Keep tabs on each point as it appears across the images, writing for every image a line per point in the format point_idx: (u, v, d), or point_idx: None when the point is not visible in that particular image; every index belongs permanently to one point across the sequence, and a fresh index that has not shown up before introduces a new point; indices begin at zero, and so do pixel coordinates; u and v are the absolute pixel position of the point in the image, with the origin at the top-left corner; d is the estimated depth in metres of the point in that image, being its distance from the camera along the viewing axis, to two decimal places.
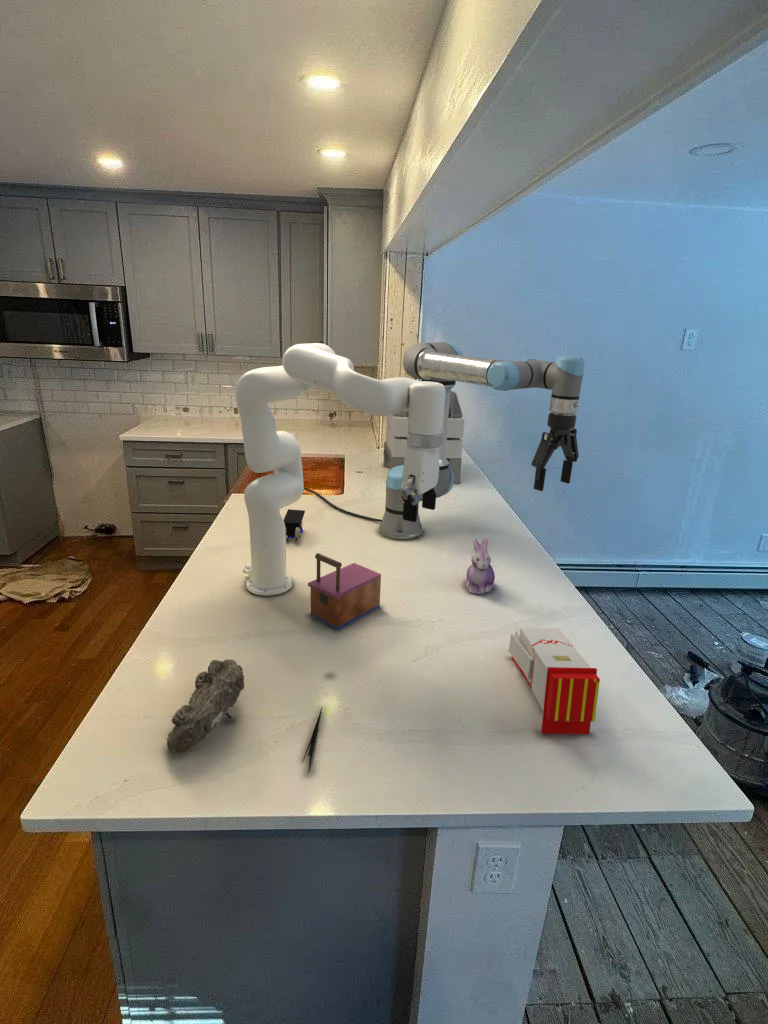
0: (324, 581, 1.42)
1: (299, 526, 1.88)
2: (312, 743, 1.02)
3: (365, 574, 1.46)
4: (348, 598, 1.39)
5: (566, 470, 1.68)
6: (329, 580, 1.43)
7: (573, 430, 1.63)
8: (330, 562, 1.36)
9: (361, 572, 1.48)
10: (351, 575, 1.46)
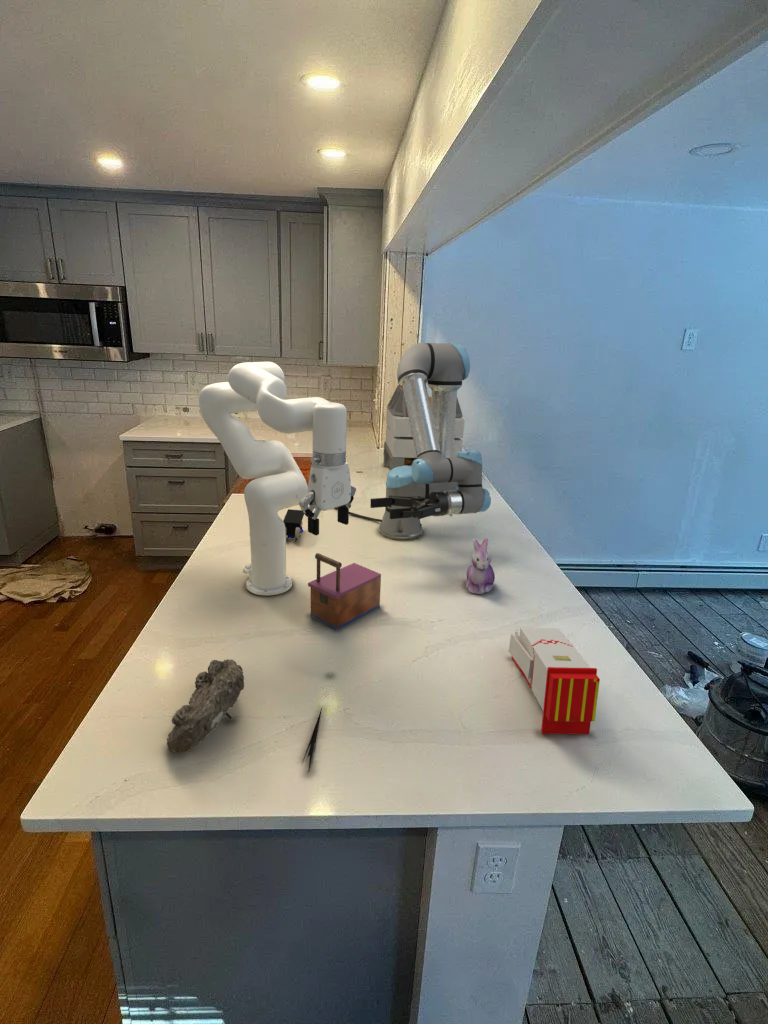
0: (324, 581, 1.42)
1: (299, 526, 1.88)
2: (312, 743, 1.02)
3: (365, 574, 1.46)
4: (348, 598, 1.39)
5: (382, 503, 1.72)
6: (329, 580, 1.43)
7: None
8: (330, 562, 1.36)
9: (361, 572, 1.48)
10: (351, 575, 1.46)
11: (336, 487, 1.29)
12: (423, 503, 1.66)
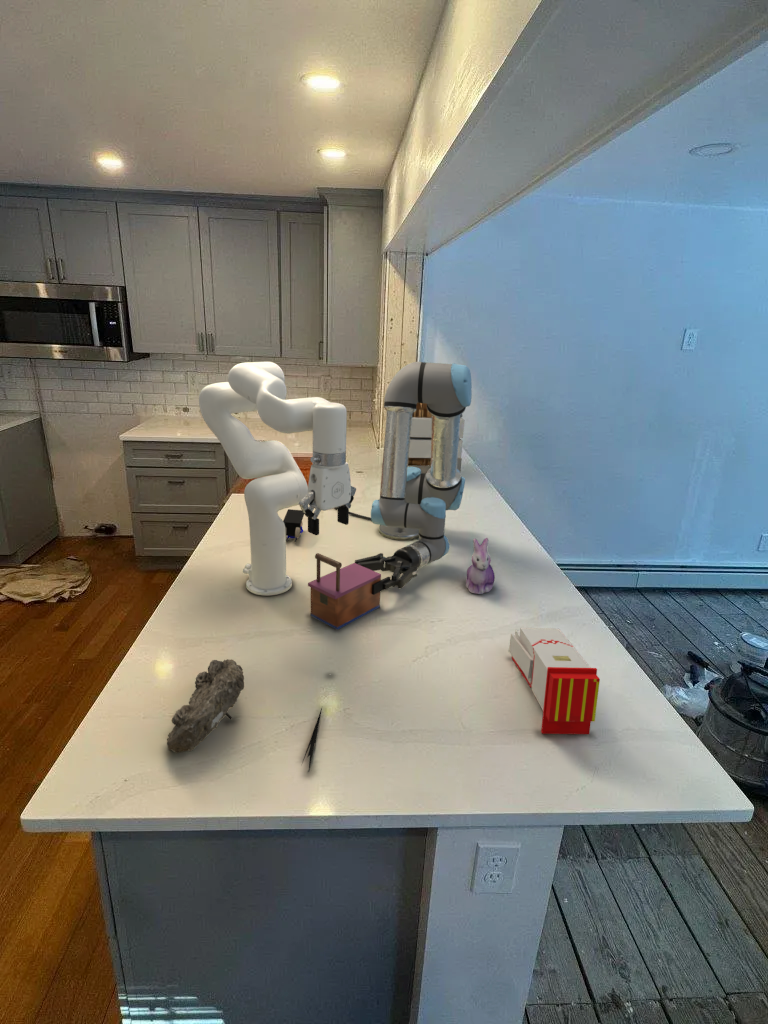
0: (324, 581, 1.42)
1: (299, 526, 1.88)
2: (312, 743, 1.02)
3: (365, 574, 1.46)
4: (348, 598, 1.39)
5: None
6: (329, 580, 1.43)
7: None
8: (330, 562, 1.36)
9: (361, 572, 1.48)
10: (351, 575, 1.46)
11: (336, 487, 1.29)
12: (398, 566, 1.56)
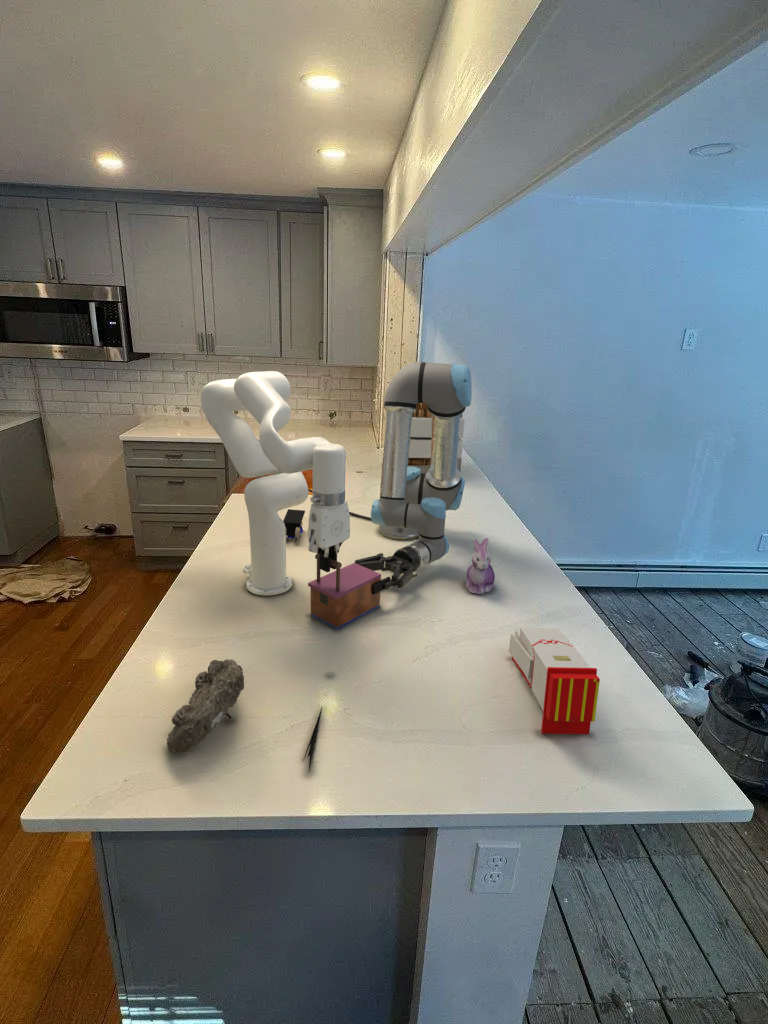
0: (324, 581, 1.42)
1: (299, 526, 1.88)
2: (312, 743, 1.02)
3: (365, 574, 1.46)
4: (348, 598, 1.39)
5: None
6: (329, 580, 1.43)
7: None
8: (330, 562, 1.36)
9: (361, 572, 1.48)
10: (351, 575, 1.46)
11: (335, 525, 1.32)
12: (398, 566, 1.56)
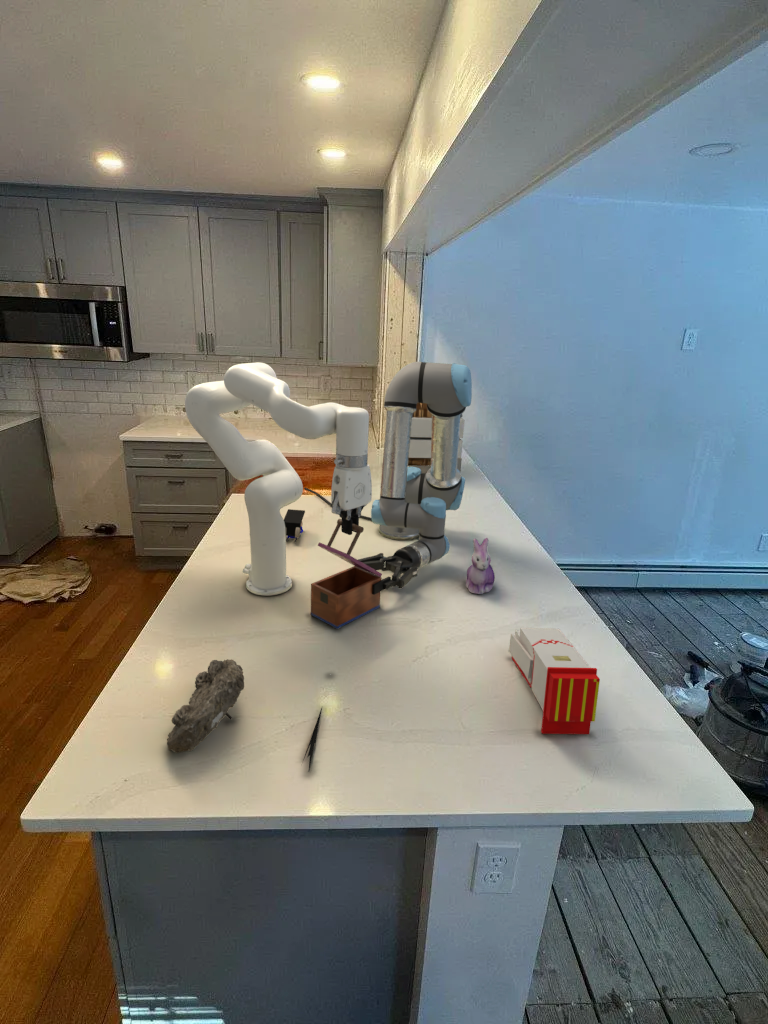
0: None
1: (299, 526, 1.88)
2: (312, 743, 1.02)
3: None
4: (348, 597, 1.39)
5: None
6: None
7: None
8: (353, 525, 1.39)
9: None
10: None
11: (358, 488, 1.35)
12: (399, 566, 1.56)
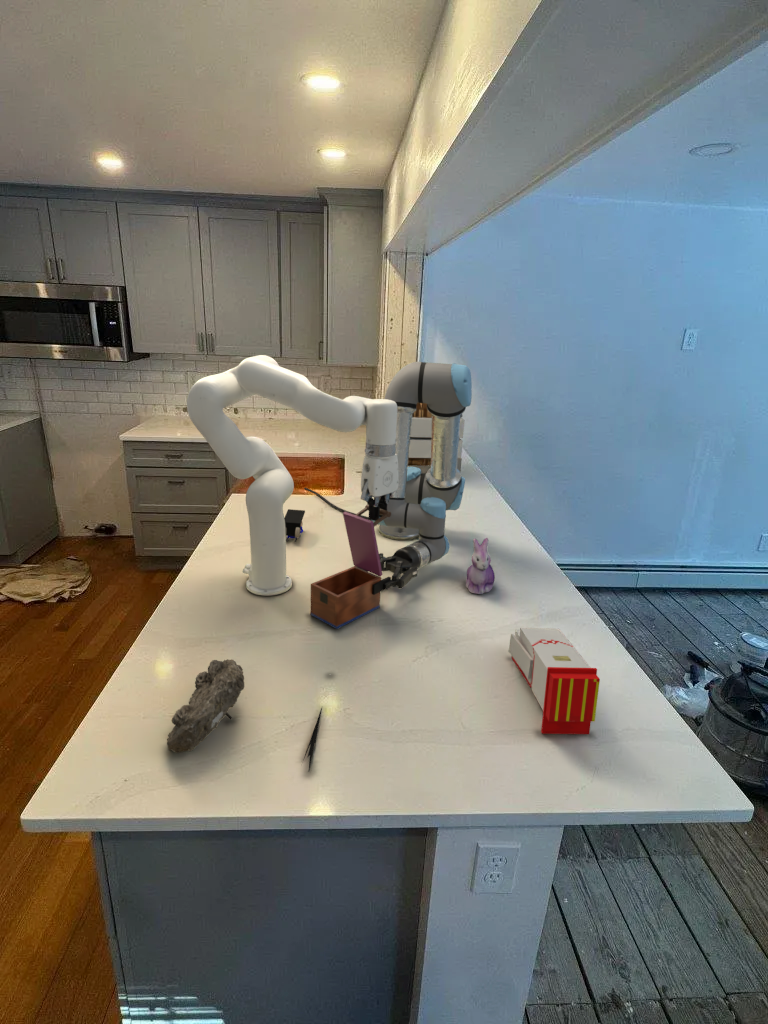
0: None
1: (299, 526, 1.88)
2: (312, 743, 1.02)
3: None
4: (348, 597, 1.39)
5: None
6: None
7: None
8: (382, 509, 1.46)
9: None
10: None
11: (386, 476, 1.42)
12: (398, 566, 1.56)
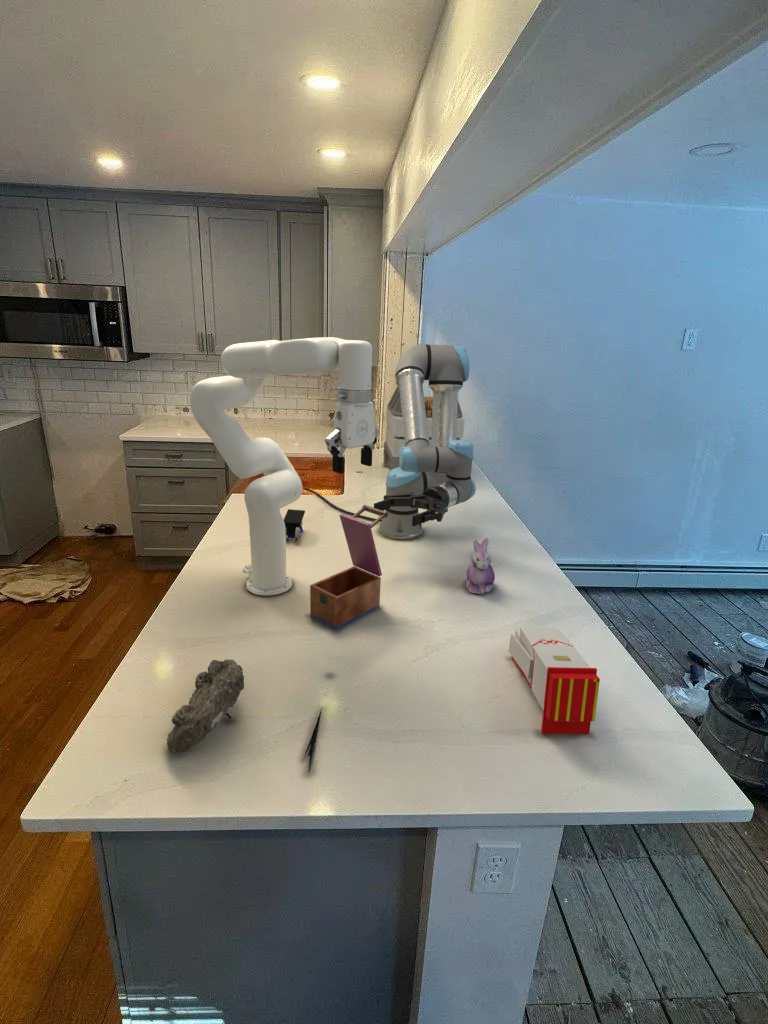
0: None
1: (299, 526, 1.88)
2: (312, 743, 1.02)
3: None
4: (348, 598, 1.39)
5: (384, 506, 1.60)
6: None
7: None
8: None
9: None
10: None
11: (361, 425, 1.30)
12: (431, 502, 1.59)
